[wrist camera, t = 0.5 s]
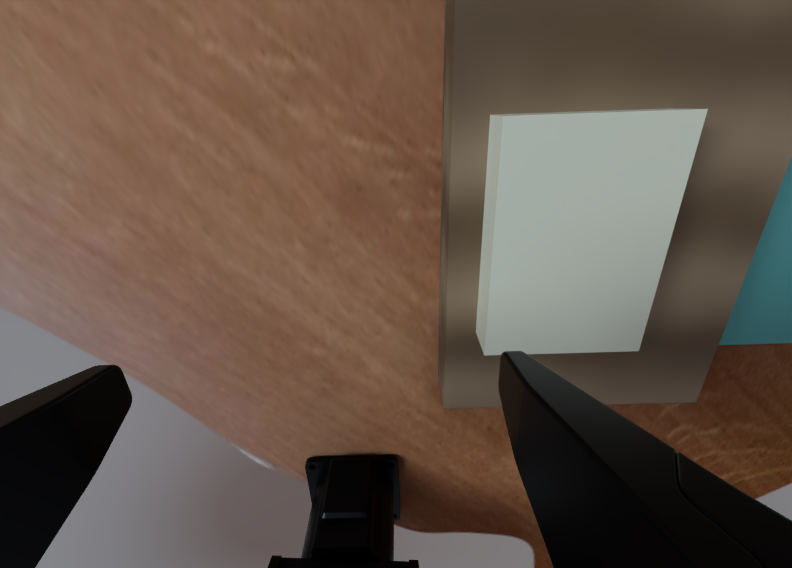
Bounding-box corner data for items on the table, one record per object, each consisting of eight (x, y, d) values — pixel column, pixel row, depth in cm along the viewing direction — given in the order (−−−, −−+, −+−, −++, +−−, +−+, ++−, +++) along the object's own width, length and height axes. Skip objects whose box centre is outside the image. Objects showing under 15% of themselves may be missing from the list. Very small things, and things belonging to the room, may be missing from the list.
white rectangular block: (615, 327, 19) (638, 351, 17) (475, 332, 19) (484, 355, 17) (670, 108, 15) (707, 108, 13) (490, 114, 15) (503, 116, 13)
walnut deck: (662, 368, 24) (696, 402, 21) (438, 374, 24) (443, 409, 21) (792, -33, 15) (876, -63, 13) (445, -20, 16) (456, -46, 13)
